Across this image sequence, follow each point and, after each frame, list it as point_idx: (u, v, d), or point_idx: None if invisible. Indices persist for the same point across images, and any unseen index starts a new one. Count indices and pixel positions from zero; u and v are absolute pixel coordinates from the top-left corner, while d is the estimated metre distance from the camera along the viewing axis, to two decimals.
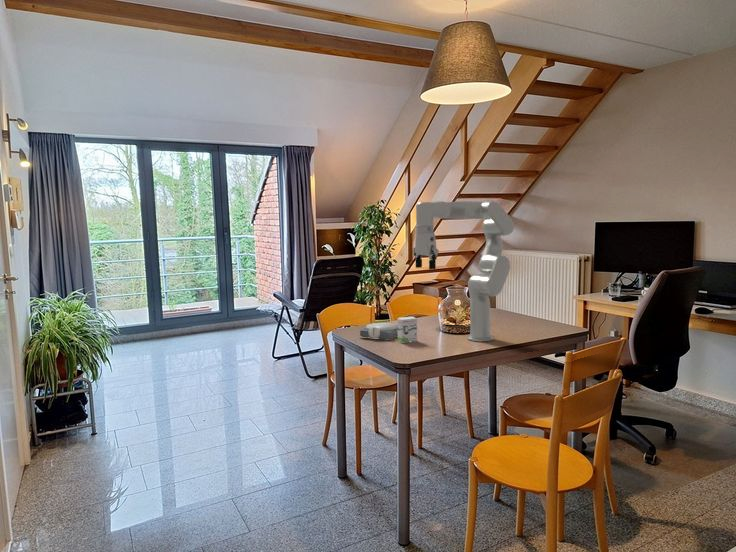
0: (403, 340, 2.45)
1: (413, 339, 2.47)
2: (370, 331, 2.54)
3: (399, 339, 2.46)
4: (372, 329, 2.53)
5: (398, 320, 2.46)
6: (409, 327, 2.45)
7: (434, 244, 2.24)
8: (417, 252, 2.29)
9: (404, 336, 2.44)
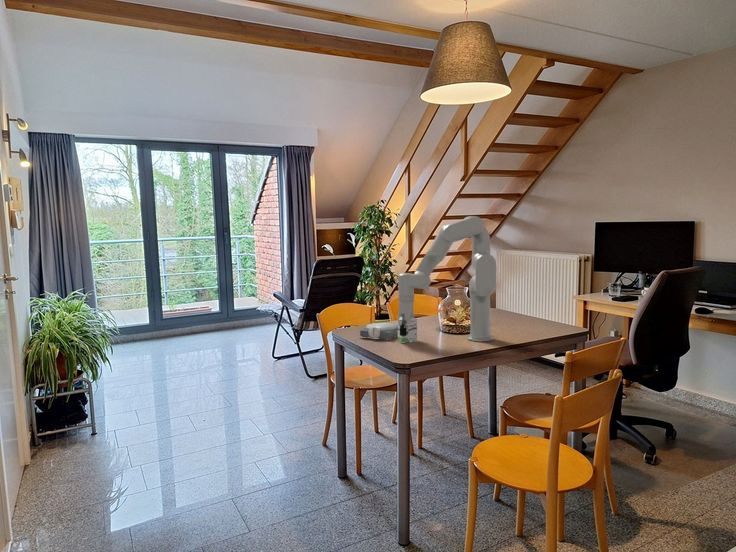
0: (403, 340, 2.44)
1: (413, 339, 2.46)
2: (370, 331, 2.54)
3: (399, 339, 2.46)
4: (372, 329, 2.53)
5: None
6: (409, 327, 2.45)
7: None
8: (408, 320, 2.43)
9: (404, 336, 2.44)
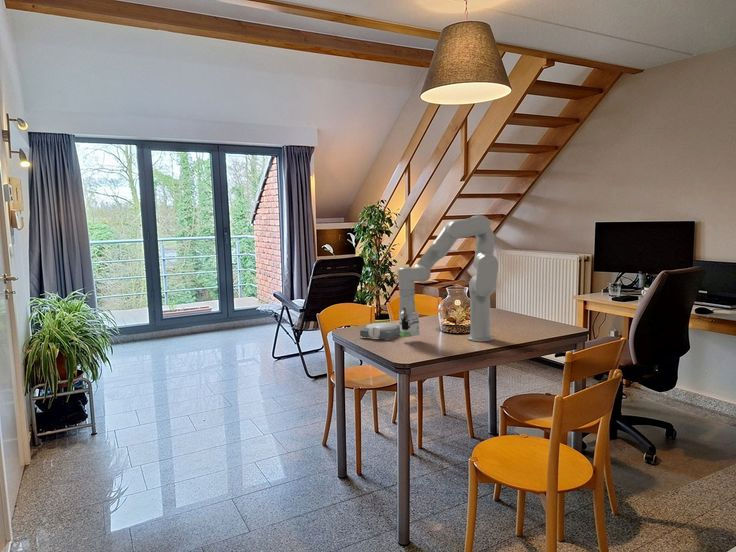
0: (405, 334, 2.44)
1: (415, 333, 2.46)
2: (370, 331, 2.54)
3: (401, 333, 2.46)
4: (372, 329, 2.53)
5: None
6: (411, 321, 2.45)
7: None
8: (410, 314, 2.43)
9: (406, 330, 2.44)
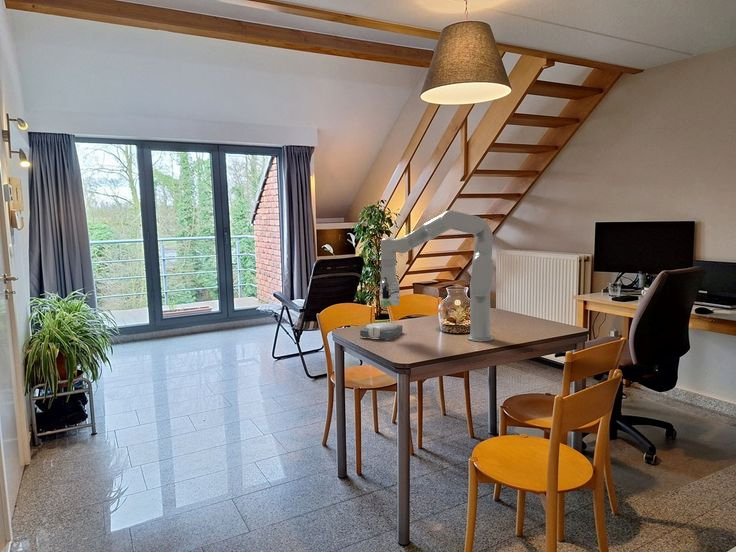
0: (385, 303, 2.52)
1: (395, 302, 2.54)
2: (370, 331, 2.54)
3: (382, 302, 2.54)
4: (372, 329, 2.53)
5: None
6: (392, 290, 2.52)
7: None
8: (390, 283, 2.51)
9: (386, 299, 2.52)
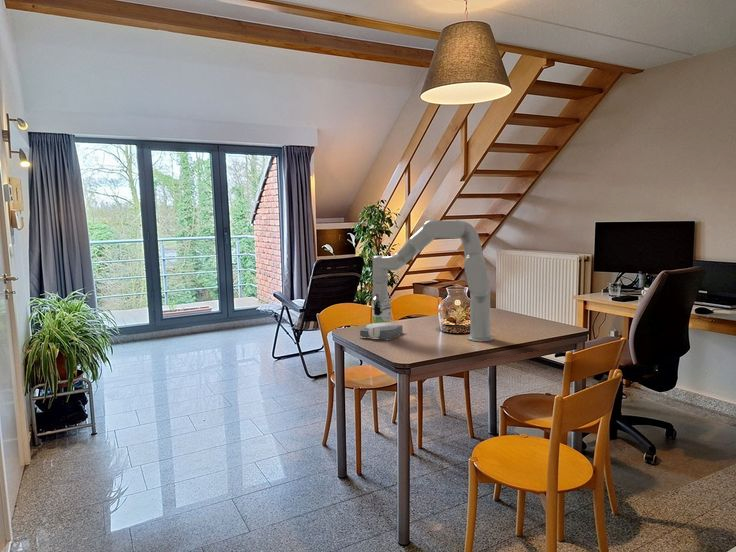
0: (377, 319, 2.58)
1: (387, 318, 2.60)
2: (370, 331, 2.54)
3: (374, 318, 2.60)
4: (372, 329, 2.53)
5: None
6: (383, 307, 2.58)
7: None
8: (382, 300, 2.57)
9: (378, 315, 2.58)
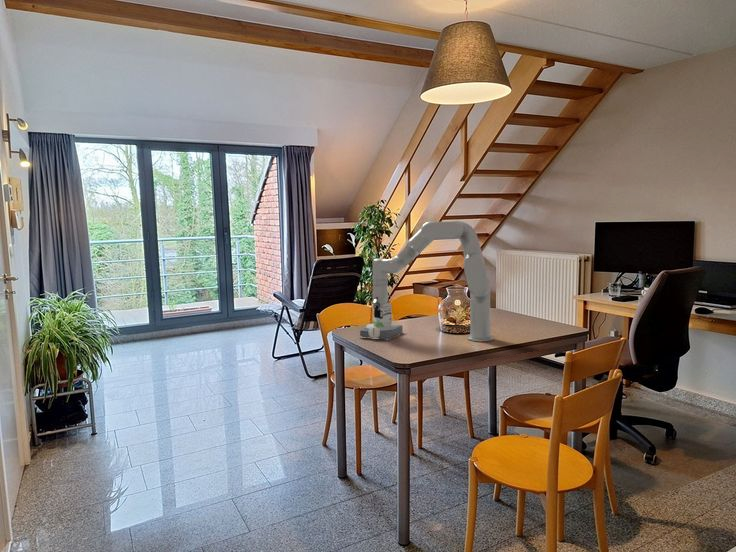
0: (378, 324, 2.58)
1: (388, 323, 2.60)
2: (370, 331, 2.54)
3: (374, 323, 2.60)
4: (372, 329, 2.53)
5: (373, 305, 2.60)
6: (384, 312, 2.59)
7: None
8: (382, 303, 2.57)
9: (379, 320, 2.58)
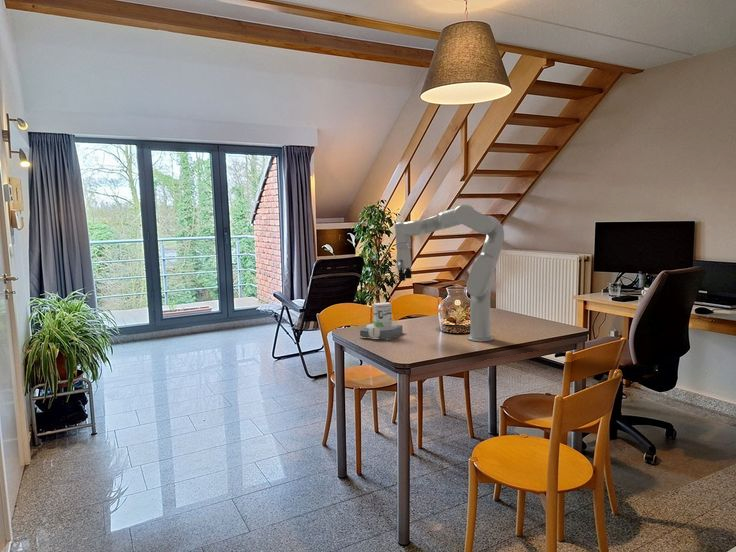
0: (378, 324, 2.58)
1: (388, 323, 2.60)
2: (370, 331, 2.54)
3: (374, 323, 2.60)
4: (372, 329, 2.53)
5: (374, 305, 2.60)
6: (384, 312, 2.59)
7: None
8: (406, 266, 2.57)
9: (379, 320, 2.58)
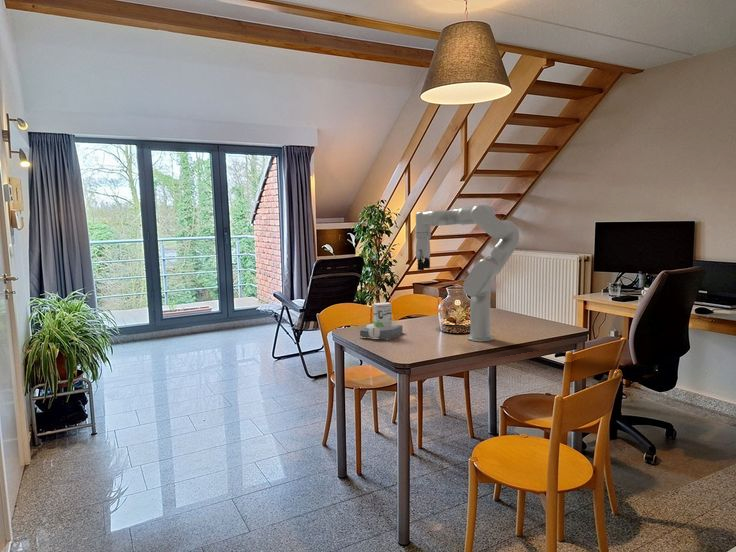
0: (378, 324, 2.58)
1: (388, 323, 2.60)
2: (370, 331, 2.54)
3: (374, 323, 2.60)
4: (372, 329, 2.53)
5: (374, 305, 2.60)
6: (384, 312, 2.59)
7: None
8: (425, 255, 2.58)
9: (379, 320, 2.58)
